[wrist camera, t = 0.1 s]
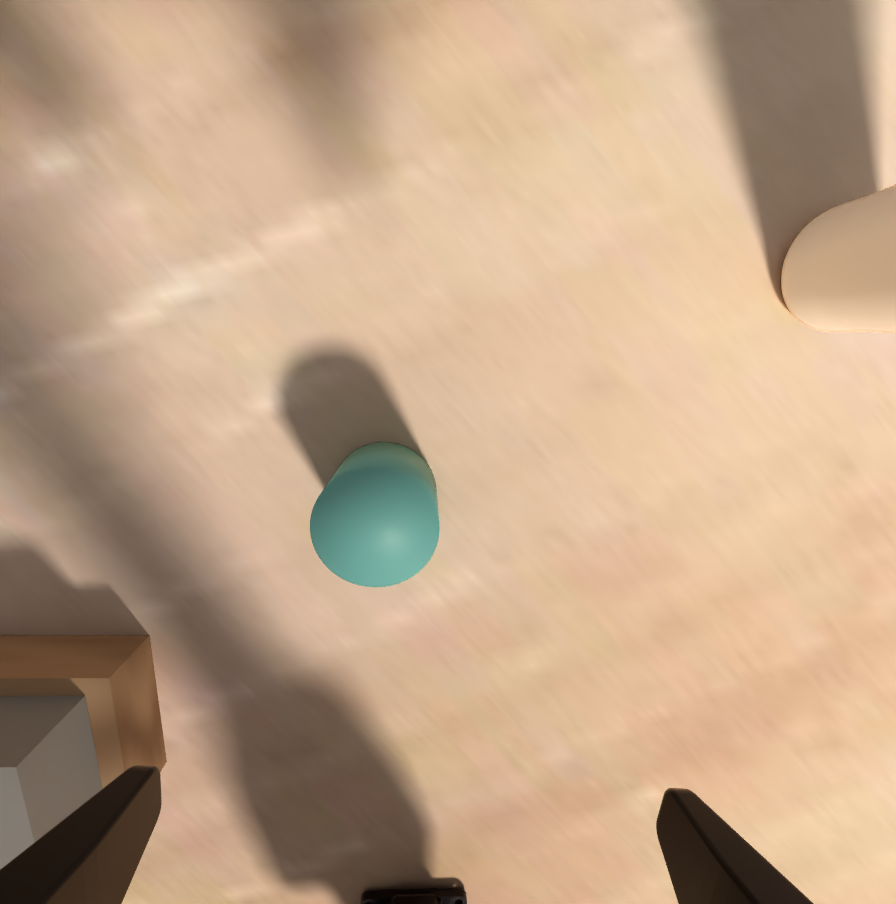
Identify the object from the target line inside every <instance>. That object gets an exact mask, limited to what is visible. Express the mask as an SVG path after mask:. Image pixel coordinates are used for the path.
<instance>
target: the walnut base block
mask: <svg viewBox="0 0 896 904" xmlns="http://www.w3.org/2000/svg"><path fill="white" fill-rule="evenodd" d="M0 696H85V698H86V703H87V709H88V714H89V719H90V725H91V730H92V735H93V740H94V746H95V751H96V756H97V762H98V767H99V772H100V778H101V783H102V788H104V787H105V786H107V785H108V784H109V783H110V782H112V781H113V780H114V779H116V778H117V777H118V776H119V775H121V774H122V773H123V772H124V771H126V770H127V769H128V768H130V767H132V766H135V765H145V766H156V767H158V768H159V770H160V772H161V770H162V768H163V767H164V765H165V763H166V762H167V761H166V753H165V746H164V739H163V731H162V724H161V717H160V709H159V702H158V694H157V687H156V680H155V672H154V665H153V658H152V650H151V643H150V636H149V635H0Z"/></svg>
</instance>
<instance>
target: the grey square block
mask: <svg viewBox="0 0 896 904" xmlns="http://www.w3.org/2000/svg"><path fill="white" fill-rule="evenodd" d="M102 789H103V788H102V783H101V778H100V772H99V767H98V762H97V756H96V751H95V746H94V740H93V735H92V730H91V725H90V719H89V714H88V709H87V703H86V698H85V696H0V869H2V868H3V867H4V866H5V865H7V864H8V863H9V862H10V861H12V860H13V859H14V858H15V857H17V856H18V855H19V854H21V853H22V852H23V851H24V850H26V849H27V848H28V847H29V846H31V845H32V844H33V843H34V842H36V841H37V840H38V839H40V838H41V837H42V836H43V835H45V834H46V833H47V832H48V831H50V830H51V829H52V828H53V827H55V826H56V825H57V824H59V823H60V822H61V821H62V820H64V819H65V818H66V817H67V816H69V815H70V814H71V813H72V812H74V811H75V810H76V809H78V808H79V807H80V806H81V805H83V804H84V803H85V802H86V801H88V800H89V799H90V798H91V797H93V796H94V795H95V794H97V793H98V792H99V791H100V790H102Z"/></svg>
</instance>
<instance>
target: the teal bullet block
mask: <svg viewBox="0 0 896 904" xmlns="http://www.w3.org/2000/svg"><path fill="white" fill-rule="evenodd" d="M310 533H311V539H312V543H313V546H314V548H315V551H316V553H317V554H318V556H319V558H320V559H321V560H322V562H323V563H324V564H325V565H326V566H327V567H328V568H329V569H330V570H331V571H332V572H333V573H334V574H336V575H337V576H339V577H340V578H342V579H344V580H346V581H348V582H351V583H353V584H357V585H361V586H366V587H385V586H391V585H395V584H398V583H401V582H403V581H405V580H407V579H409V578H411V577H412V576H414V575H415V574H417V573H418V572H419V571H420V570H421V569H422V568H423V567H424V566H425V565H426V564H427V563H428V561H429V560H430V558H431V557H432V555H433V553H434V551H435V548H436V546H437V542H438V538H439V516H438V503H437V490H436V483H435V479H434V475H433V473H432V471H431V469H430V467H429V466H428V464H427V463H426V462H425V460H424V459H423V458H422V457H421V456H420V455H418V454H417V453H416V452H414V451H413V450H411V449H409V448H408V447H406V446H403V445H400V444H396V443H390V442H377V443H371V444H368V445H365V446H363V447H360V448H358V449H357V450H355V451H354V452H352V453H351V454H350V455H349V456H347V458H346V459H345V460H344V461H343V462H342V464H341V465H340V466H339V468H338V469H337V471H336V472H335V474H334V475H333V477H332V478H331V480H330V481H329V482H328V484H327V485H326V487H325V488H324V490H323V491H322V493H321V494H320V496H319V497H318V499H317V501H316V503H315V505H314V507H313V510H312V514H311V519H310Z"/></svg>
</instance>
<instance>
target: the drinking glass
mask: <svg viewBox="0 0 896 904" xmlns="http://www.w3.org/2000/svg"><path fill="white" fill-rule="evenodd" d="M781 288H782V294H783V298H784V301H785V303H786V305H787V307H788V309H789V311H790V312H791V313H792V315H793V316H794V317H795V318H796V319H797V320H798V321H800V322H801V323H802V324H804V325H806V326H808V327H810V328H812V329H815V330H819V331H824V332H878V333H895V334H896V184H895V185H893V186H890V187H888V188H885V189H883V190H880V191H878V192H876V193H873V194H870V195H867V196H864V197H861V198H858V199H855V200H852V201H849V202H846V203H844V204H841V205H838V206H835V207H833V208H831V209H829V210H827V211H825V212H824V213H822V214H820V215H819V216H817V217H816V218H815V219H813V220H812V221H811V222H810V223H808V224H807V225H806V226H805V227H804V228H803V229H802V231H801V232H800V233H799V234H798V235H797V237H796V238H795V240H794V241H793V243H792V244H791V246H790V248H789V250H788V252H787V255H786V257H785V260H784V263H783V268H782V274H781Z"/></svg>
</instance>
